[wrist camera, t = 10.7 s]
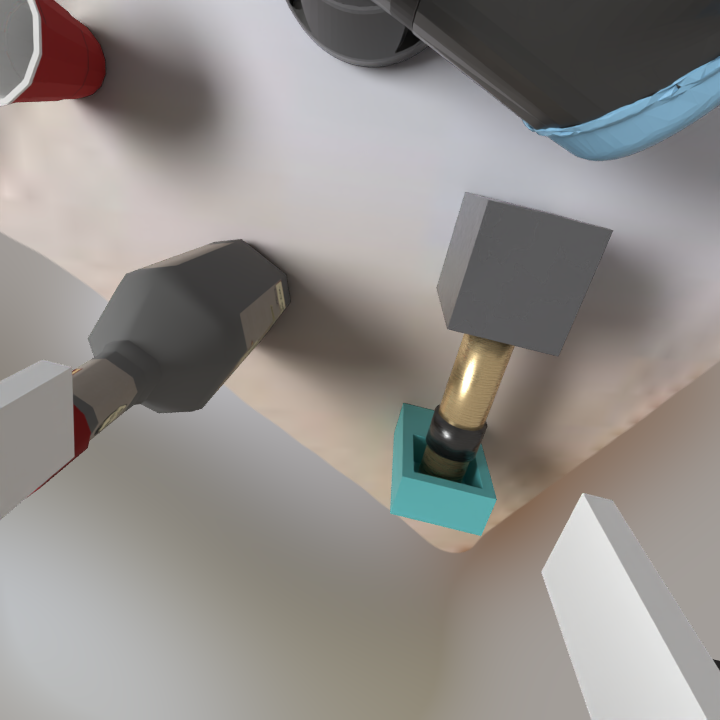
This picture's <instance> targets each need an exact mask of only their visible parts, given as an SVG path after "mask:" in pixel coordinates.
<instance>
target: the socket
mask: <svg viewBox="0 0 720 720" xmlns="http://www.w3.org/2000/svg"><path fill="white" fill-rule="evenodd" d="M433 414H434V410H430V409H426V408H422V407H418V406H414V405H410V404H406V403H403V406H402V409H401V412H400V416H399V419H398V422H397V426H396V429H395V432H394V446H393V467H392V487H391V508H390V513H391V514H395V515H399V516H403V517H407V518H411V519H415V520H419V521H423V522H427V523H431V524H435V525H439V526H443V527H447V528H451V529H455V530H459V531H463V532H467V533H471V534H475V535H480V536H481V535H482V532H483V530H484V528H485V526H486V523H487V521H488V519H489V516H490V514H491V512H492V509H493V507H494V505H495V503H496V500H497V499H496V495H495V491H494V488H493V484H492V480H491V477H490V473H489V470H488V466H487V462H486V459H485V455H484V451H483V448H482V444H480V446H479V449H478V452H477V454H476V457H475V458H474V459H473V460H472V461H470V462H469V465H468V467H467V470H466V473H465V475H464V478H463V480H462V483H457V482H453V481H449V480H445V479H441V478H437V477H433V476H429V475H425V474H421V473H418V470H419V467H420V464H421V461H422V458H423V455H424V452H425V449H426V446H427V443H426V435H427V432H428V429H429V426H430V423H431V420H432V417H433Z"/></svg>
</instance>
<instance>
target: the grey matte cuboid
mask: <svg viewBox="0 0 720 720" xmlns="http://www.w3.org/2000/svg"><path fill="white" fill-rule="evenodd" d="M612 232H613V230H610V229H606V228H603V227H599V226H596V225H592V224H589V223H585V222H581V221H578V220H574V219H571V218H567V217H564V216H560V215H556V214H553V213H549V212H545V211H540V210H536V209H532V208H528V207H524V206H520V205H516V204H512V203H508V202H504V201H500V200H496V199H492V198H488V197H484V196H479V195H475V194H471V193H467V192H465V195H464V198H463V201H462V205H461V208H460V211H459V215H458V218H457V221H456V225H455V228H454V232H453V235H452V238H451V242H450V245H449V248H448V252H447V255H446V258H445V262H444V265H443V268H442V272H441V275H440V278H439V282H438V285H437V291H438V295H439V299H440V303H441V307H442V311H443V315H444V318H445V322H446V326H447V329H449V330H453V331H457V332H461V333H465V334H469V335H473V336H477V337H481V338H485V339H489V340H493V341H497V342H502V343H506V344H510V345H514V346H518V347H522V348H526V349H530V350H534V351H538V352H542V353H546V354H550V355H554V356H559V354H560V352H561V349H562V347H563V345H564V342H565V340H566V338H567V335H568V333H569V331H570V329H571V326H572V324H573V322H574V319H575V317H576V315H577V312H578V310H579V308H580V305H581V303H582V301H583V299H584V296H585V294H586V292H587V289H588V287H589V285H590V282H591V280H592V278H593V275H594V273H595V271H596V269H597V266H598V264H599V262H600V259H601V257H602V255H603V252H604V250H605V248H606V245H607V243H608V241H609V239H610V236H611V234H612Z"/></svg>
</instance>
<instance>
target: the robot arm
mask: <svg viewBox="0 0 720 720" xmlns="http://www.w3.org/2000/svg"><path fill="white" fill-rule="evenodd" d="M286 2H287V4H288V6H289V8H290V10H291V11H292V13H293V15H294V16H295V18H296V19H297V21H298V22H299V24H300V25H301V27H302V28H303V29H304V31H305V32H306V33H307V34H308V36H309V37H310V38H311V39H312V40H313V41H314V42H315V43H316V44H317V45H318V46H319V47H321V48H322V49H323V50H324V51H326V52H327V53H329V54H330V55H332V56H334V57H336V58H338V59H340V60H342V61H344V62H347V63H350V64H354V65H358V66H366V67H379V66H387V65H391V64H395V63H398V62H401V61H404V60H406V59H408V58H410V57H412V56H414V55H416V54H417V53H419V52H420V51H422V50H423V49H424V48H426V47H427V46H429V47H431V48H432V49H433V50H435V51H436V52H437V53H438V54H440V55H441V56H442V57H443V58H445V59H446V60H447V61H449V62H450V63H451V64H452V65H454V66H455V67H456V68H458V69H459V70H460V71H461V72H463V73H464V74H465V75H466V76H468V77H469V78H470V79H472V80H473V81H474V82H475V83H477V84H478V85H479V86H481V87H482V88H483V89H484V90H486V91H487V92H488V93H489V94H491V95H492V96H493V97H495V98H496V99H497V100H498V101H500V102H501V103H502V104H504V105H505V106H506V107H507V108H509V109H510V110H511V111H512V112H514V113H515V114H516V115H518V116H519V117H520V118H521V119H522V121H523V123H524V124H525V126H526V127H528V129H529V130H531V131H532V132H536V133H537V134H538V135H542V136H547V137H549V138H550V139H551V140H553V141H554V142H556V143H557V144H559V145H560V146H562V147H563V148H564V149H566V150H567V151H569V152H570V153H572V154H573V155H575V156H577V157H580V158H583V159H587V160H593V161H606V160H614V159H618V158H622V157H625V156H629V155H632V154H635V153H637V152H640V151H642V150H645V149H647V148H649V147H651V146H653V145H655V144H657V143H659V142H661V141H663V140H665V139H667V138H668V137H670V136H672V135H674V134H676V133H678V132H679V131H681V130H682V129H684V128H686V127H687V126H689V125H690V124H692V123H694V122H695V121H697V120H698V119H700V118H701V117H703V116H704V115H706V114H707V113H709V112H710V111H711V110H713V109H714V108H716V107H717V106H718V105H720V0H286ZM74 457H75V454H74V420H73V385H72V367H70V366H66V365H62V364H58V363H54V362H50V361H46V360H41V361H39V362H37V363H35V364H33V365H31V366H29V367H27V368H25V369H23V370H21V371H19V372H17V373H15V374H13V375H11V376H9V377H7V378H5V379H3V380H2V381H0V520H1V519H2V518H3V517H5V516H6V515H7V514H8V513H9V512H10V511H11V510H13V509H14V508H15V507H16V506H17V505H18V504H20V503H21V502H22V501H23V500H24V499H26V498H27V497H28V496H29V495H30V494H31V493H33V492H34V491H35V490H36V489H37V488H38V487H40V486H41V485H42V484H43V483H44V482H45V481H47V480H48V479H49V478H50V477H51V476H52V475H54V474H55V473H56V472H57V471H58V470H60V469H61V468H62V467H63V466H64V465H65V464H67V463H68V462H69V461H70V460H71V459H72V458H74ZM542 575H543V578H544V581H545V584H546V587H547V590H548V593H549V596H550V599H551V602H552V605H553V608H554V611H555V614H556V617H557V620H558V622H559V625H560V629H561V632H562V634H563V637H564V640H565V643H566V646H567V649H568V652H569V655H570V658H571V661H572V664H573V667H574V670H575V673H576V676H577V679H578V682H579V685H580V688H581V691H582V694H583V697H584V700H585V703H586V706H587V709H588V712H589V715H590V718H591V720H720V661H718V660H714V659H712V658H711V656H710V654H709V653H708V651H707V650H706V648H705V647H704V645H703V644H702V642H701V640H700V639H699V637H698V635H697V634H696V632H695V631H694V629H693V628H692V626H691V624H690V623H689V621H688V619H687V618H686V616H685V615H684V613H683V612H682V610H681V608H680V607H679V605H678V604H677V602H676V600H675V599H674V597H673V596H672V594H671V592H670V591H669V589H668V588H667V586H666V584H665V583H664V581H663V580H662V578H661V576H660V575H659V573H658V572H657V570H656V569H655V567H654V565H653V564H652V562H651V561H650V559H649V557H648V556H647V554H646V553H645V551H644V549H643V548H642V546H641V545H640V543H639V541H638V540H637V538H636V537H635V535H634V533H633V532H632V530H631V529H630V527H629V526H628V524H627V522H626V521H625V519H624V518H623V516H622V515H621V513H620V511H619V510H618V508H617V506H616V505H615V503H614V502H613V500H610V499H606V498H602V497H598V496H593V495H590V494H585V493H582V495H581V497H580V499H579V501H578V503H577V505H576V507H575V509H574V511H573V512H572V514H571V516H570V518H569V520H568V522H567V524H566V526H565V528H564V530H563V532H562V534H561V535H560V537H559V539H558V541H557V543H556V545H555V547H554V549H553V551H552V552H551V554H550V556H549V558H548V560H547V562H546V564H545V566H544V568H543V570H542Z"/></svg>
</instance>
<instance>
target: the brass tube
mask: <svg viewBox="0 0 720 720" xmlns="http://www.w3.org/2000/svg"><path fill="white" fill-rule="evenodd" d="M513 349H514V345H510V344H506V343H502V342H497V341H493V340H489V339H485V338H481V337H477V336H473V335H469V334H465V333H464V336H463V339H462V342H461V345H460V348H459V351H458V354H457V357H456V360H455V363H454V366H453V369H452V372H451V375H450V378H449V381H448V384H447V387H446V390H445V393H444V395H443V398H442V401H441V404H440V405H438V406H437V407H436V408H435V411H434V414H433V417H432V420H431V423H430V426H429V429H428V432H427V435H426V443H427V446H426V449H425V452H424V455H423V458H422V461H421V464H420V467H419V470H418V473H421V474H425V475H429V476H433V477H437V478H441V479H445V480H449V481H453V482H457V483H462V480H463V478H464V475H465V473H466V470H467V467H468V465H469V462H470V461H472V460H473V459H474V458H475V457H476V454H477V452H478V449H479V446H480V444H481V441H482V439H483V436H484V434H485V431H486V429H487V423H486V418H487V416H488V413H489V411H490V408H491V406H492V403H493V400H494V398H495V395H496V393H497V390H498V388H499V385H500V382H501V380H502V377H503V375H504V372H505V369H506V367H507V364H508V362H509V359H510V357H511V354H512V351H513Z"/></svg>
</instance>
